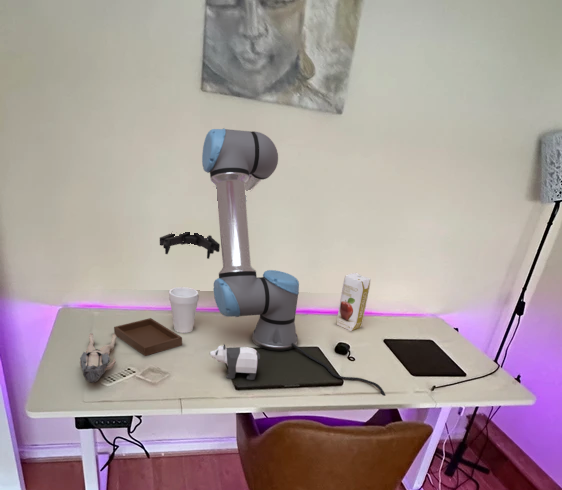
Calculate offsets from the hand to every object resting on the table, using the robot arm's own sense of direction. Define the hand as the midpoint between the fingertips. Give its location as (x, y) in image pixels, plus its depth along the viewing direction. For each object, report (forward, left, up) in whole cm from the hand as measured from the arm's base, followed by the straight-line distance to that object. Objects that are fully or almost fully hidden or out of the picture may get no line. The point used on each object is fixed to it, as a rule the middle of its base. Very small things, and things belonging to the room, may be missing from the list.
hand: (187, 252), depth 170 cm
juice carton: (-36, -47, -24) cm, 64 cm away
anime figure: (-14, +41, -24) cm, 49 cm away
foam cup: (-6, +6, -24) cm, 25 cm away
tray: (-7, +20, -24) cm, 32 cm away
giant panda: (-40, +12, -24) cm, 48 cm away
